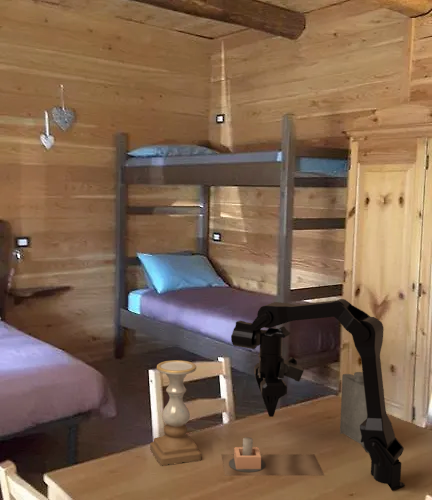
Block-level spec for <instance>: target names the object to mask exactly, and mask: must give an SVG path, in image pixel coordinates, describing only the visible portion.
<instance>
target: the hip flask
mask: <svg viewBox="0 0 432 500" xmlns="http://www.w3.org/2000/svg"><path fill="white" fill-rule="evenodd" d="M341 378H342V379H341V381H342V382H341V397H340V399H341V403H340V422H339V423H340V424H339V425H340V426H339V434H340V435H341V434H342V435H343V434H344V435H345V436H347V437H348V438H350V439H351V440H352V441H355V442H356V443H358V444H360V446H361V447H362V448H363V449H364V451H365V453H367V454H369V452H368V451H367V450H366V449H365V447H364V442H362V443H361V437H362V436H361V431H360V425H361V424H362V423H363V422H364V421H365V420H366V419H367V409H366V400H365V390H364V381H363V372H362V371H355V372H354V373H353V374H351V373H344V374H342V377H341Z"/></svg>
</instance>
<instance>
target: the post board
mask: <svg viewBox="0 0 432 500" xmlns="http://www.w3.org/2000/svg"><path fill="white" fill-rule="evenodd" d="M253 442H254V441H253V438H252V437H247V436H246V437H243V438H242V447H243V456H252V447H254V446H253V445H254V443H253ZM260 455H261V469H236V466H235V461H234V454H228V453H227V454H226V453H225V454H223V453H222V454H221V460H222V461H221V462H222V468H223V473H224V474H223V475H224V476H227V477H228V476H229V477H231V476H237V477H238V476H242V477H243V476H244V477H245V476H252V477H253V476H255V477H256V476H325V474H324V472H323V470H322V467H321V465H320V464H319V462H318V459H317V457H316V455H315V454H313V453H310V454H306V453H303V454H302V453H299V454H298V453H297V454H293V453H290V454H288V453H287V454H286V453H285V454H284V453H283V454H282V453H280V454H276V453H275V454H274V453H273V454H272V453H271V454H267V453H265V454H264V453H262V454H261V453H260Z"/></svg>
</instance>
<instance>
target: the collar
mask: <svg viewBox="0 0 432 500" xmlns="http://www.w3.org/2000/svg"><path fill="white" fill-rule="evenodd" d="M233 449H234V450H233V451H234V452H233V453H234V461H235V466H236V469H261V455H260V454H261V452H260V449H259V446H258V447H257V446H253V447H252V456H243V446H240V447H239V446H236V447H234V448H233Z"/></svg>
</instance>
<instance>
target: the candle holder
mask: <svg viewBox="0 0 432 500" xmlns="http://www.w3.org/2000/svg"><path fill="white" fill-rule="evenodd" d="M156 370H157V371H158V372H159V373H161V374H165V376H166V377H167V378H168V381H169V384H168V386H167V387H166V389H165V391H166V393H167V395H168V397H169V399H168V402H167V404H166V405H165V407H164V408H163V410H162V412H161V420H162V421H163V422H164V424H165V426H164V427H163V432H164V435H163V436H158V437H154V438H153V441H151V442H150V444H149V446H150V447H149V450H151V451H150V452H151V454H152V453H153V454H152V455H153V457H154V456H155V457H154V458H155V460H156V459H157V460H156V462H159V463H160V464H159V463H158V464H159V465H160V466H161V465H165V466H169V465H168V464H173V465H175V464H174V463H180V464H183V463H182V462H187V463H191V462H190V461H195V462H199V461H198V460H200V461H201V460H202V452H201V451H200V450H199V449H198V445H197V444H196V442H195V441H194V440H193V439H192V438H191V437H190V436H189V435H188V434H187V433H188V426H187V425H186V424H187V423H188V422H189V421H190V419H191V418H190V417H191V413H190V411H189V408H188V407H187V405H186V404H185V402H184V399H183V397H184V394H185V393H186V392H187V388H186V387H185V384H184V380H185V378H186V376H187V375H189V374H192V373H194V372H195V371H196V370H197V365H196V364H195V363H194V362H191V361H187V360H181V359H178V360H177V359H176V360H174V359H173V360H165V361H161V362H159V363H158V364H156Z"/></svg>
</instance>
